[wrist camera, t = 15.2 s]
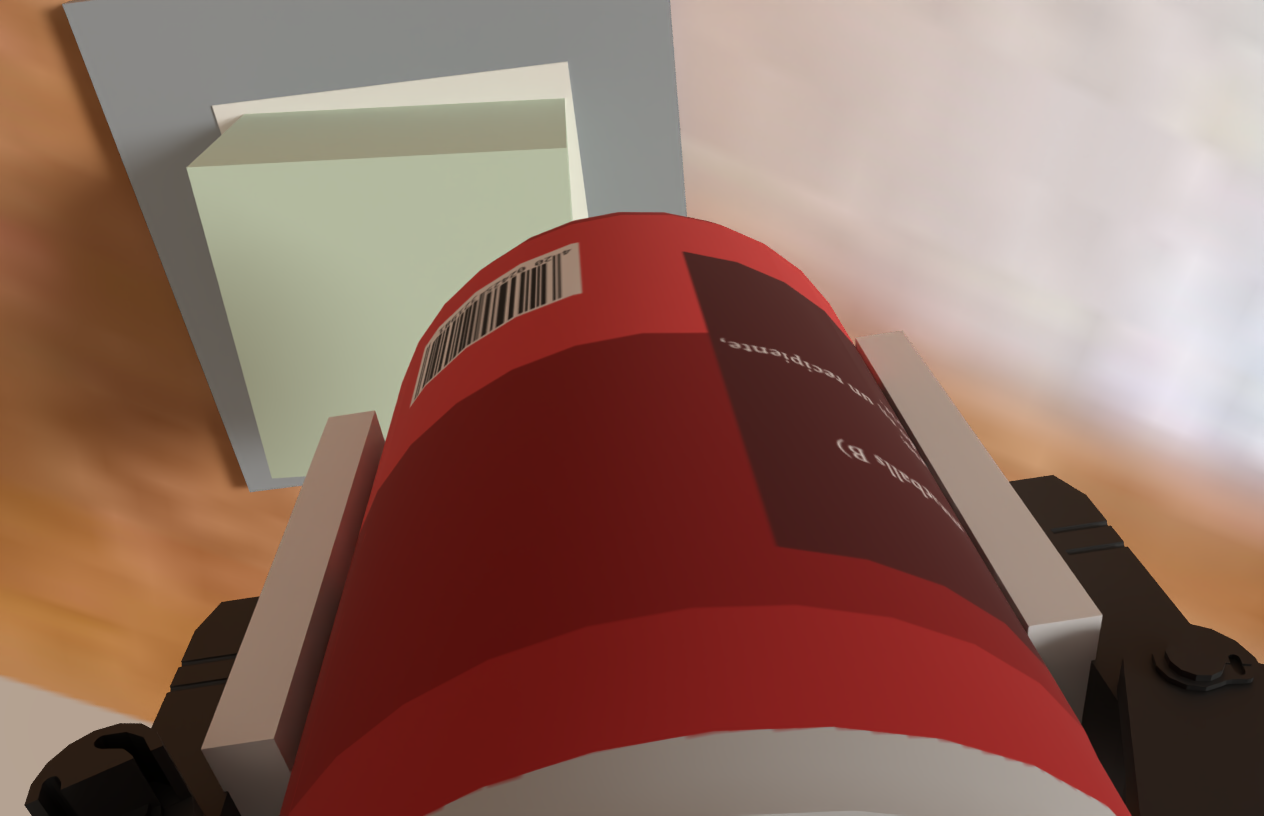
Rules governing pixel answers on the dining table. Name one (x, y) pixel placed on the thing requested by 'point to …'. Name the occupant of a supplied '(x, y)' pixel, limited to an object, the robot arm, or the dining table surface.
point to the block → (363, 243)
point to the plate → (367, 78)
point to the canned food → (669, 567)
